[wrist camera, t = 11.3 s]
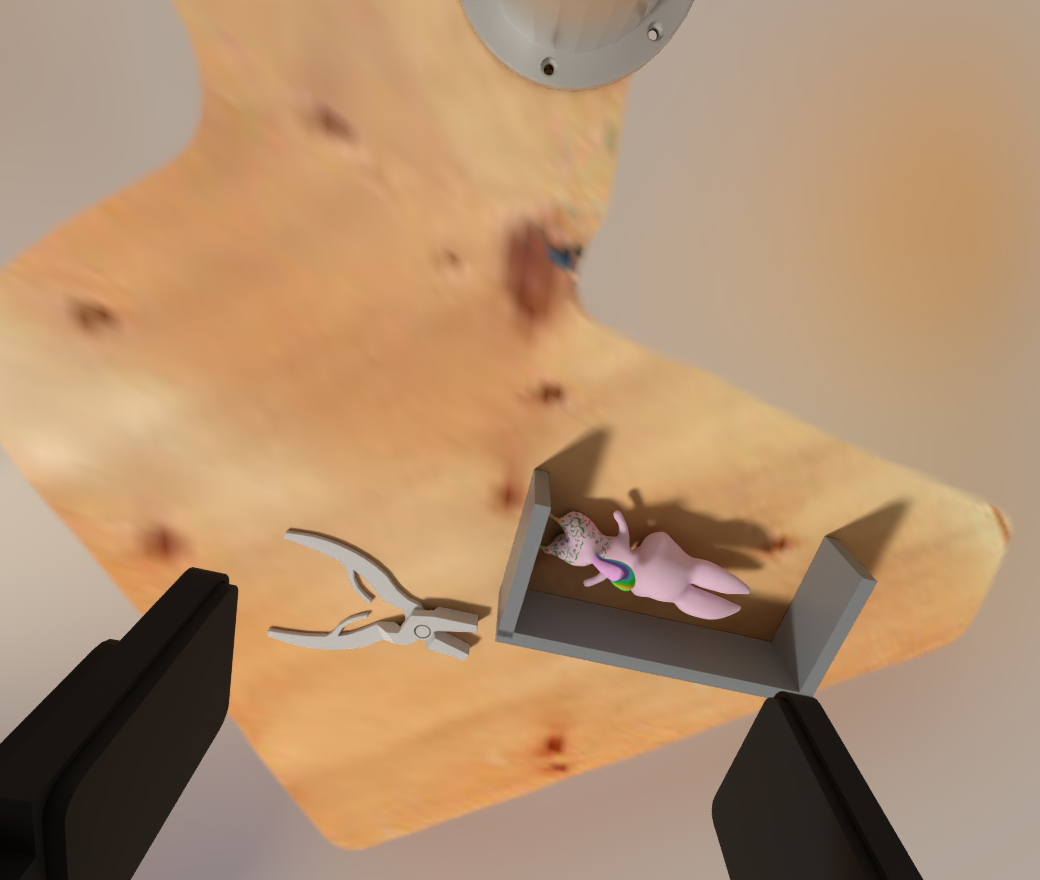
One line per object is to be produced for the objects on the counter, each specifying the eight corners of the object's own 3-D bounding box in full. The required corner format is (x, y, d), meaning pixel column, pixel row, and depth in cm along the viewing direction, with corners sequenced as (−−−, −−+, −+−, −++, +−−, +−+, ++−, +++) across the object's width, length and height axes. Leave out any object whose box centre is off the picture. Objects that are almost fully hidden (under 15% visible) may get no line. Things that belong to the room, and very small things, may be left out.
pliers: (280, 536, 40) (490, 591, 42) (289, 524, 42) (492, 578, 43) (261, 646, 44) (455, 693, 45) (270, 631, 45) (458, 678, 47)
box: (534, 468, 40) (534, 503, 35) (838, 539, 41) (877, 581, 37) (498, 594, 43) (495, 641, 39) (778, 654, 45) (807, 706, 40)
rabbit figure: (528, 546, 44) (721, 621, 43) (514, 591, 38) (735, 677, 37) (556, 473, 41) (760, 551, 41) (545, 509, 36) (782, 599, 35)
